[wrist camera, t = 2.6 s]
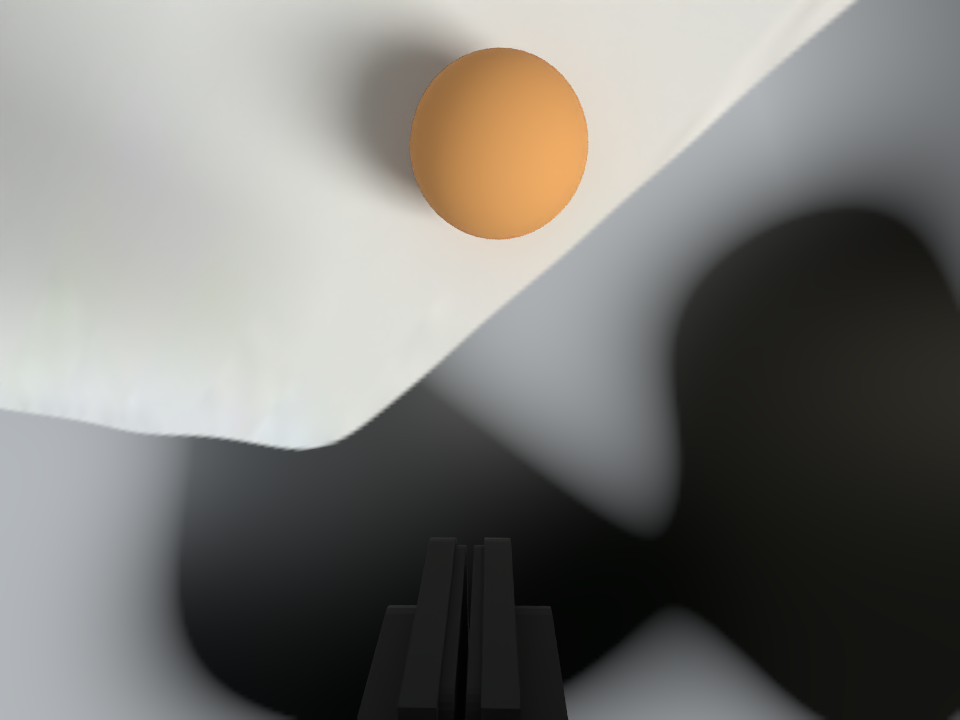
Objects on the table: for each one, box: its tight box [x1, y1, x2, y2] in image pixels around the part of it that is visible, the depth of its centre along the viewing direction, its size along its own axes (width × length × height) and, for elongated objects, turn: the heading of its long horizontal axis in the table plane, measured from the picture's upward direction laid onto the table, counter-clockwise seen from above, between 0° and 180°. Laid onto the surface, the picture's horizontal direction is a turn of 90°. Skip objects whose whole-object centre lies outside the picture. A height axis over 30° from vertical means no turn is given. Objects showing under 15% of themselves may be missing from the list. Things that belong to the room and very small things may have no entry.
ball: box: [410, 48, 588, 240], centre depth 18 cm, size 6×6×6 cm
